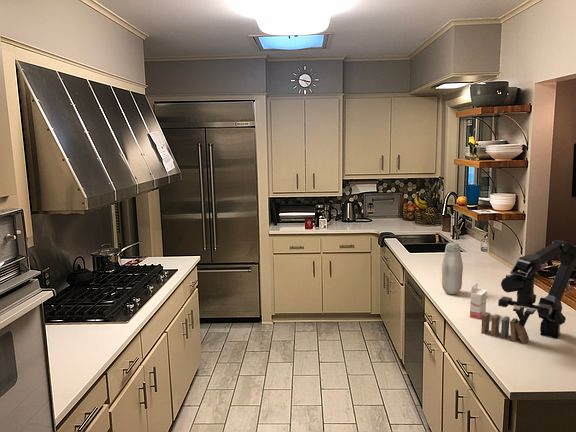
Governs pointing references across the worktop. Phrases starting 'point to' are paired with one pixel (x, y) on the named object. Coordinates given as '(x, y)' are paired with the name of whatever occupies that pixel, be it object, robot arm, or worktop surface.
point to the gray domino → (505, 327)
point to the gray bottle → (452, 269)
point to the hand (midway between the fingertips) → (523, 325)
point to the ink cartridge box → (477, 302)
